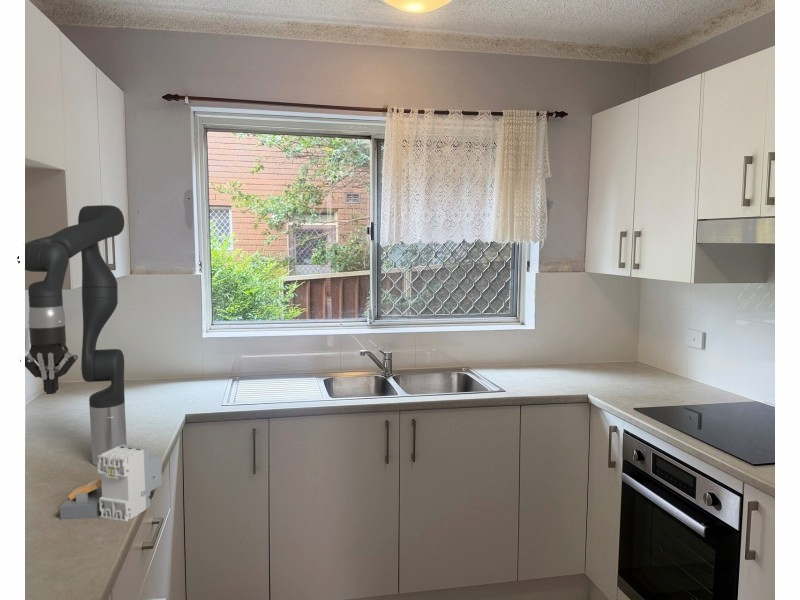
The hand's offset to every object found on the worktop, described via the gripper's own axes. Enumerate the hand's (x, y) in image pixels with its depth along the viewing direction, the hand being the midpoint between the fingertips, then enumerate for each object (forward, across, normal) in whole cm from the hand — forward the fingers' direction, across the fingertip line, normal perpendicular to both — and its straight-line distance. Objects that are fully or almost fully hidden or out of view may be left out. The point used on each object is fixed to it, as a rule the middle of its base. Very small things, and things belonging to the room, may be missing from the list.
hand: (51, 393), depth 142 cm
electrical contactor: (+27, -21, +7) cm, 35 cm away
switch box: (+27, -10, +7) cm, 30 cm away
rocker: (+23, -10, +7) cm, 26 cm away
